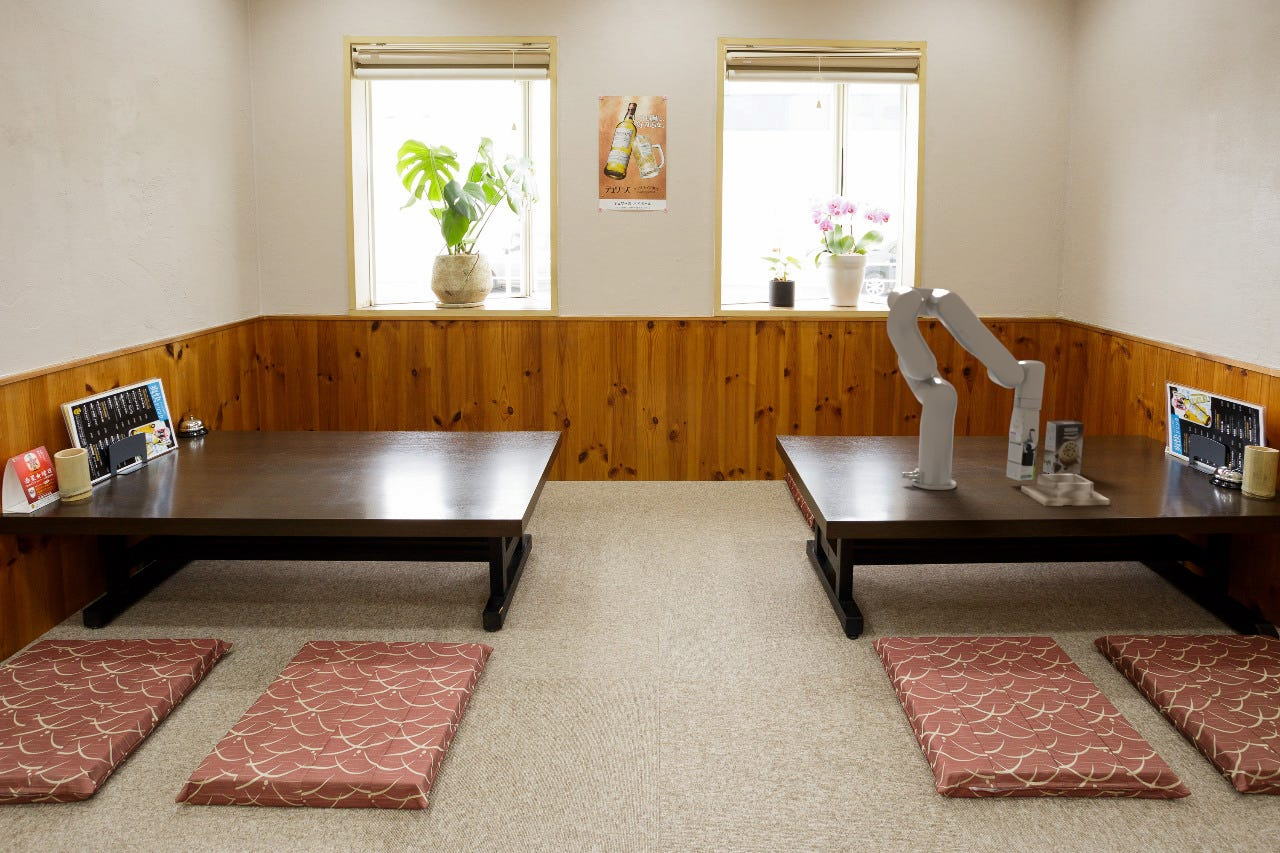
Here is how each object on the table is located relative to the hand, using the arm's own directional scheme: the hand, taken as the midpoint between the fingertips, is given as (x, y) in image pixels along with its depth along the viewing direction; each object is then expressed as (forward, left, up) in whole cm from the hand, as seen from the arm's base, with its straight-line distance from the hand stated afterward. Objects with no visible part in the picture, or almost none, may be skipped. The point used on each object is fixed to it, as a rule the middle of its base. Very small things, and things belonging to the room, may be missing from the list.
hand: (1021, 462), depth 303 cm
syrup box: (0, 0, -5) cm, 5 cm away
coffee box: (+19, +14, -7) cm, 25 cm away
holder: (+7, -14, -7) cm, 17 cm away
